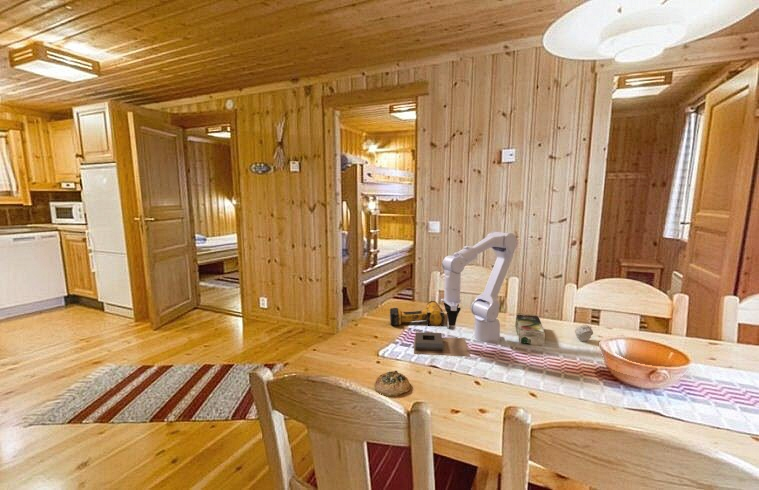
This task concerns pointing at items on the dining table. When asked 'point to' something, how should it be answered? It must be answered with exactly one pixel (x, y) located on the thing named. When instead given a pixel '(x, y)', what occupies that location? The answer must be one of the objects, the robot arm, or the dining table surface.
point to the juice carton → (530, 330)
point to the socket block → (428, 341)
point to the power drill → (419, 315)
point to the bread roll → (392, 384)
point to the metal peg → (450, 326)
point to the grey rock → (583, 332)
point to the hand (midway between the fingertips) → (451, 323)
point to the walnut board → (449, 348)
